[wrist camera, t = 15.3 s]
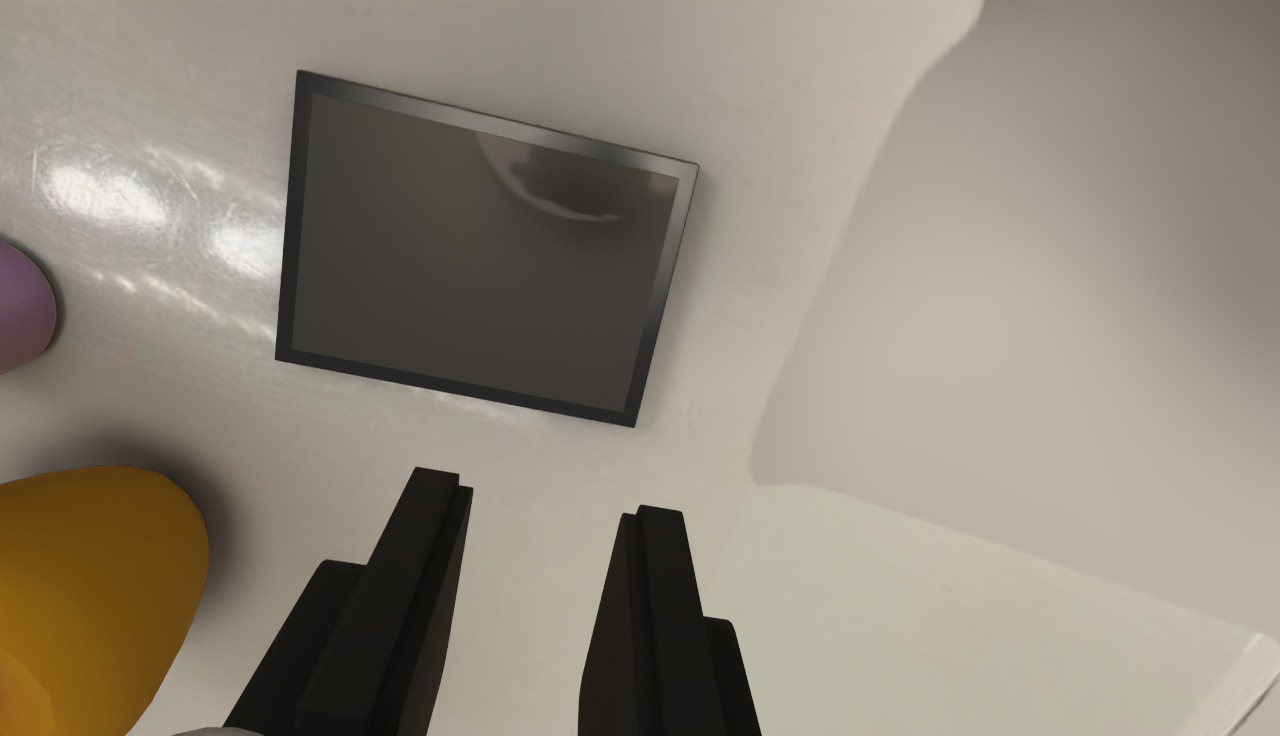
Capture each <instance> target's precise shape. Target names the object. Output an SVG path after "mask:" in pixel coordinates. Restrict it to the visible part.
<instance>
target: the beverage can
mask: <svg viewBox="0 0 1280 736" xmlns="http://www.w3.org/2000/svg"><path fill="white" fill-rule="evenodd" d="M56 316H57V310H56V302H55V297H54V294H53V291H52V289H51V286H50V284H49V282H48V281H47V279H46V277H45V276H44V274H43V273H42V272H41V270H40V269H39V268H38V267H37V266H36V264H35V263H34V262H33V261H32V260H30V259H29V258H28V257H27V256H26V255H24V254H23V253H22V252H20V251H19V250H17V249H16V248H14V247H12V246H11V245H9V244H7V243H5V242H3V241H1V240H0V375H2V374H4V373H6V372H8V371H11V370H13V369H15V368H17V367H19V366H22V365H24V364H26V363H28V362H30V361H32V360H33V359H35V358H36V357H37V356H38V355H39V354H41V353H42V352H43V350H44V349H45V348H46V346H47V345H48V343H49V341H50V340H51V337H52V335H53V331H54V328H55V323H56Z"/></svg>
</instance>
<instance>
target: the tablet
mask: <svg viewBox="0 0 1280 736" xmlns="http://www.w3.org/2000/svg"><path fill="white" fill-rule="evenodd" d="M698 170H699V164H697V163H694V162H690V161H686V160H682V159H677V158H673V157H669V156H665V155H660V154H656V153H652V152H648V151H644V150H639V149H635V148H631V147H627V146H622V145H618V144H614V143H610V142H606V141H601V140H597V139H593V138H589V137H585V136H580V135H576V134H572V133H568V132H563V131H559V130H555V129H551V128H547V127H542V126H538V125H534V124H530V123H525V122H521V121H517V120H513V119H509V118H504V117H500V116H496V115H492V114H487V113H483V112H479V111H475V110H471V109H466V108H462V107H458V106H454V105H450V104H445V103H441V102H437V101H433V100H428V99H424V98H420V97H416V96H412V95H407V94H403V93H399V92H395V91H390V90H386V89H382V88H378V87H374V86H369V85H365V84H361V83H357V82H353V81H348V80H344V79H340V78H336V77H331V76H327V75H323V74H319V73H315V72H310V71H305V70H297V76H296V89H295V102H294V115H293V128H292V142H291V155H290V168H289V181H288V194H287V207H286V220H285V233H284V246H283V259H282V272H281V285H280V298H279V311H278V324H277V338H276V351H275V360H278V361H283V362H288V363H294V364H299V365H304V366H310V367H315V368H320V369H325V370H331V371H336V372H341V373H346V374H352V375H357V376H362V377H368V378H373V379H378V380H383V381H389V382H394V383H399V384H405V385H410V386H415V387H420V388H426V389H431V390H436V391H441V392H447V393H452V394H457V395H463V396H468V397H473V398H478V399H484V400H489V401H494V402H500V403H505V404H510V405H515V406H521V407H526V408H531V409H536V410H542V411H547V412H552V413H558V414H563V415H568V416H573V417H579V418H584V419H589V420H595V421H600V422H605V423H610V424H616V425H621V426H626V427H631V428H635V425H636V421H637V417H638V413H639V409H640V405H641V401H642V397H643V393H644V389H645V385H646V381H647V376H648V372H649V368H650V364H651V360H652V356H653V352H654V348H655V344H656V340H657V336H658V332H659V328H660V324H661V320H662V316H663V312H664V308H665V304H666V300H667V296H668V292H669V288H670V284H671V280H672V275H673V271H674V267H675V263H676V259H677V255H678V251H679V247H680V243H681V239H682V235H683V231H684V227H685V223H686V219H687V215H688V211H689V207H690V203H691V199H692V195H693V191H694V187H695V183H696V178H697V174H698Z"/></svg>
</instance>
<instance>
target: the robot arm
mask: <svg viewBox="0 0 1280 736" xmlns="http://www.w3.org/2000/svg"><path fill="white" fill-rule="evenodd" d="M472 497H473V488H472V487H466V486H460V485H459V474H456V473H451V472H445V471H439V470H433V469H427V468H421V467H415V469H414V470H413V472H412V474H411V477H410V479H409V481H408V483H407V485H406V487H405V489H404V491H403V493H402V495H401V497H400V499H399V501H398V503H397V505H396V507H395V509H394V511H393V513H392V515H391V517H390V519H389V521H388V523H387V525H386V527H385V529H384V531H383V533H382V535H381V537H380V539H379V541H378V543H377V545H376V547H375V549H374V551H373V553H372V555H371V557H370V559H369V561H368V563H367V565H361V564H355V563H348V562H341V561H335V560H328V559H326V560H324V561H322V562H321V564H320V565H319V566H318V568H317V569H316V571H315V572H314V574H313V576H312V577H311V579H310V581H309V582H308V584H307V586H306V587H305V589H304V591H303V592H302V594H301V596H300V597H299V599H298V601H297V602H296V604H295V606H294V607H293V609H292V611H291V612H290V614H289V616H288V617H287V619H286V621H285V622H284V624H283V626H282V627H281V629H280V631H279V633H278V634H277V636H276V638H275V639H274V641H273V643H272V644H271V646H270V648H269V649H268V651H267V653H266V654H265V656H264V658H263V659H262V661H261V663H260V664H259V666H258V668H257V669H256V671H255V673H254V674H253V676H252V678H251V679H250V681H249V683H248V684H247V686H246V688H245V689H244V691H243V693H242V694H241V696H240V698H239V699H238V701H237V703H236V705H235V706H234V708H233V710H232V711H231V713H230V715H229V716H228V718H227V720H226V721H225V723H224V725H223V726H222V727H207V728H202V729H197V730H193V731H188V732H183V733H179V734H175V735H173V736H426V734H427V731H428V727H429V723H430V720H431V716H432V712H433V708H434V705H435V701H436V697H437V694H438V690H439V686H440V682H441V678H442V674H443V669H444V665H445V660H446V654H447V648H448V642H449V636H450V630H451V624H452V618H453V612H454V606H455V600H456V594H457V588H458V582H459V576H460V570H461V564H462V558H463V552H464V546H465V540H466V534H467V528H468V522H469V516H470V510H471V504H472ZM578 736H762V735H761V731H760V727H759V723H758V719H757V715H756V711H755V707H754V703H753V699H752V695H751V691H750V688H749V684H748V680H747V676H746V672H745V668H744V664H743V660H742V656H741V652H740V648H739V644H738V640H737V637H736V633H735V630H734V627H733V625H732V623H731V622H730V621H729V620H725V619H719V618H712V617H705V616H703V612H702V607H701V602H700V597H699V592H698V587H697V582H696V577H695V572H694V567H693V562H692V557H691V552H690V547H689V543H688V538H687V533H686V528H685V523H684V518H683V514H682V512H681V511H677V510H671V509H665V508H659V507H653V506H647V505H640V506H639V508H638V510H637V513H636V515H634V514H628V513H623V514H622V516H621V519H620V523H619V527H618V531H617V535H616V539H615V543H614V547H613V552H612V556H611V560H610V564H609V568H608V572H607V576H606V580H605V584H604V589H603V593H602V597H601V601H600V605H599V609H598V613H597V617H596V622H595V626H594V630H593V634H592V638H591V642H590V646H589V650H588V654H587V659H586V663H585V667H584V671H583V676H582V681H581V687H580V695H579V711H578Z"/></svg>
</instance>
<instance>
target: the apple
mask: <svg viewBox="0 0 1280 736" xmlns="http://www.w3.org/2000/svg"><path fill="white" fill-rule="evenodd" d="M208 569H209V541H208V536H207V532H206V527H205V523H204V519H203V515H202V514H201V512H200V511H199V509H198V508H197V507H196V505H195V504H194V502H193V501H192V500H191V498H190V497H189V495H188V494H187V492H185V491H184V490H183V489H182V488H180V487H179V486H178V485H176V484H175V483H174V482H173V481H171V480H170V479H169V478H168V477H166V476H165V475H164V474H161V473H157V472H154V471H150V470H146V469H143V468H139V467H136V466H132V465H97V466H90V467H83V468H76V469H69V470H62V471H55V472H47V473H42V474H38V475H34V476H30V477H26V478H22V479H18V480H14V481H10V482H6V483H3V484H0V736H125V735H126V734H127V733H128V732H129V731H130V730H131V729H132V728H133V726H134V725H135V724H136V722H137V721H138V720H139V718H140V717H141V716H142V714H143V713H144V711H145V710H146V709H147V707H148V706H149V705H150V703H151V702H152V700H153V698H154V696H155V694H156V693H157V691H158V689H159V687H160V685H161V683H162V681H163V680H164V678H165V676H166V674H167V672H168V670H169V669H170V667H171V665H172V663H173V661H174V659H175V657H176V656H177V654H178V652H179V650H180V648H181V646H182V644H183V642H184V640H185V637H186V635H187V633H188V630H189V628H190V626H191V623H192V621H193V618H194V615H195V612H196V609H197V606H198V603H199V601H200V598H201V595H202V592H203V589H204V585H205V581H206V577H207V573H208Z"/></svg>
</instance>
